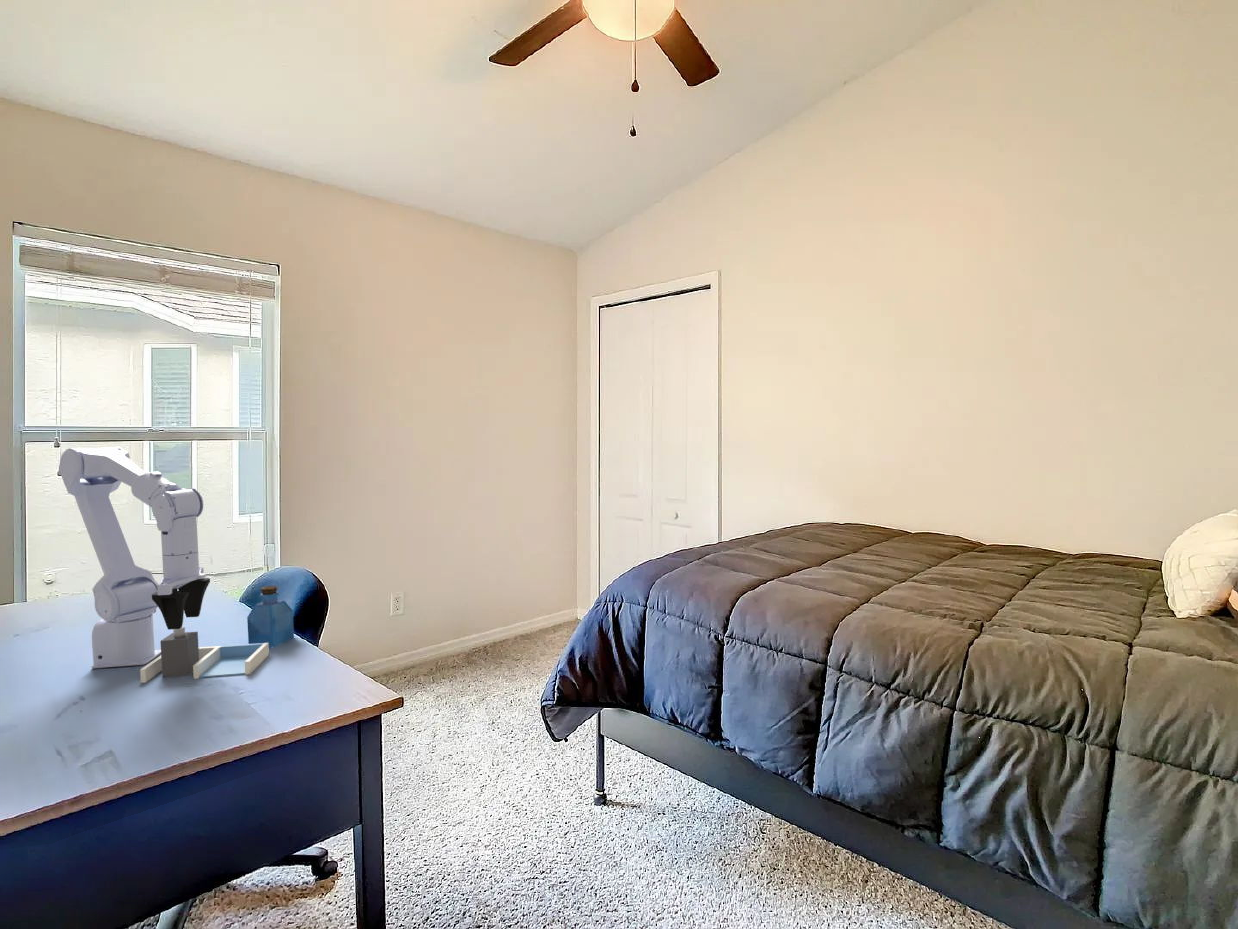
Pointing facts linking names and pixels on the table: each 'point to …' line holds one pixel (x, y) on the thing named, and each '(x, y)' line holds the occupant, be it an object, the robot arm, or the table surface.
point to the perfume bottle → (270, 619)
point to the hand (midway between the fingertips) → (184, 622)
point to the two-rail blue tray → (218, 661)
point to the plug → (179, 653)
